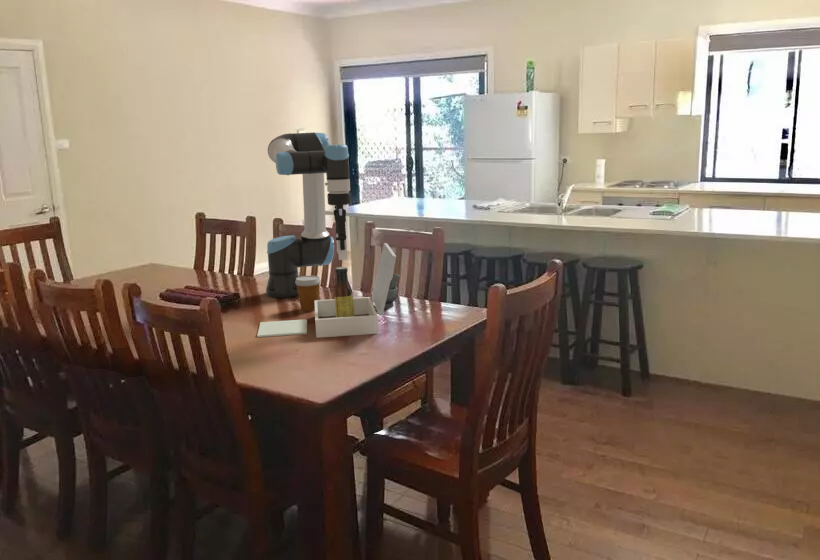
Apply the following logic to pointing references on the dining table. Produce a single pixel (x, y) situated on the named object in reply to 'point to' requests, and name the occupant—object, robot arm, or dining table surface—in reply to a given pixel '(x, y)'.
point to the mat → (282, 328)
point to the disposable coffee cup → (308, 291)
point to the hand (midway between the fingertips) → (342, 256)
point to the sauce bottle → (343, 294)
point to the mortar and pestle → (392, 291)
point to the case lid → (383, 278)
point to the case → (345, 319)
